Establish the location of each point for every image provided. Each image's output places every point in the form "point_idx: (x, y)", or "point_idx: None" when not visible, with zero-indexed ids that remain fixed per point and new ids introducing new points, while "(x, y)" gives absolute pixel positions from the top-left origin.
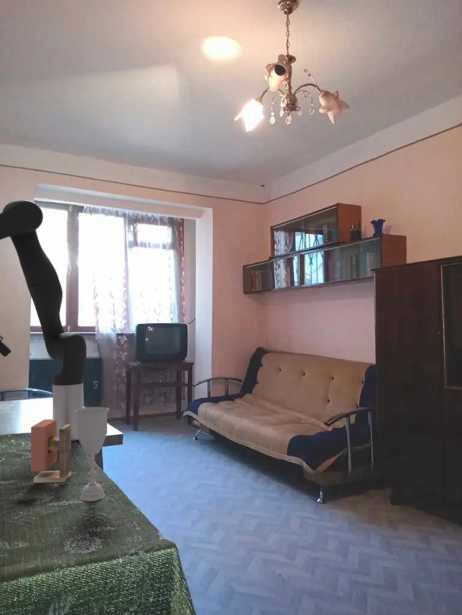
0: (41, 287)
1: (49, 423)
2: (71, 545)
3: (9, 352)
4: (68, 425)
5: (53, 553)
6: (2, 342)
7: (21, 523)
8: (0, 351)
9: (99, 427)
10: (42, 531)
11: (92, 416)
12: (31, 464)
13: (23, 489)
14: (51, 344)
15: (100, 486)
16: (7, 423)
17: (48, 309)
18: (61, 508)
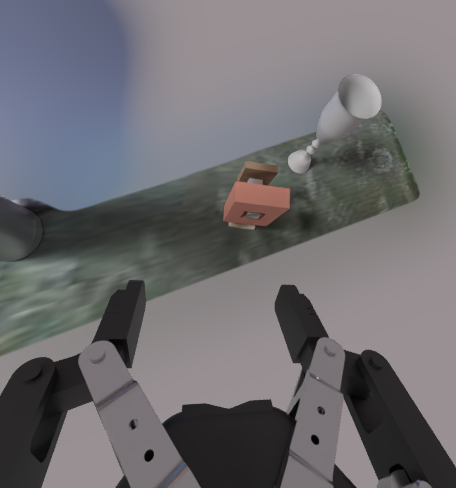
0: None
1: (267, 186)
2: (383, 167)
3: (143, 283)
4: (253, 163)
5: (393, 177)
6: (119, 329)
7: (350, 211)
8: (139, 328)
9: (357, 103)
10: (364, 191)
11: (374, 98)
12: (268, 223)
13: (272, 234)
14: None
15: (303, 150)
16: None
17: None
18: (323, 185)
